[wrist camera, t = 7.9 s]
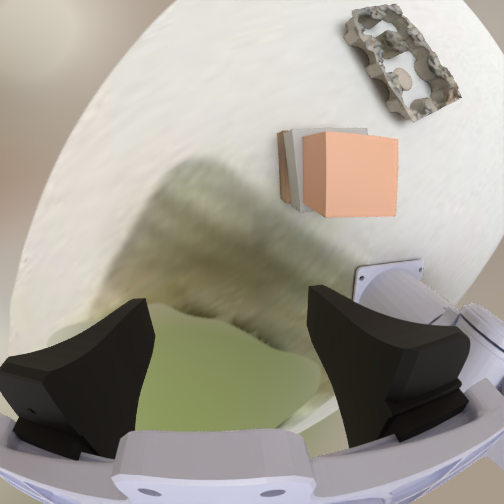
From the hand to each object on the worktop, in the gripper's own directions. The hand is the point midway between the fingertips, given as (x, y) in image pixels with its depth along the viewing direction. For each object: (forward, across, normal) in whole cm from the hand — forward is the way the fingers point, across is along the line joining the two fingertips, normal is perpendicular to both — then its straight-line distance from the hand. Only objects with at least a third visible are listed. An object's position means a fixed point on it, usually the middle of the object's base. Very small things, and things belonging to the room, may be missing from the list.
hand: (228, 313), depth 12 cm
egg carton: (+11, -15, -16) cm, 24 cm away
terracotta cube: (+6, -7, -6) cm, 10 cm away
